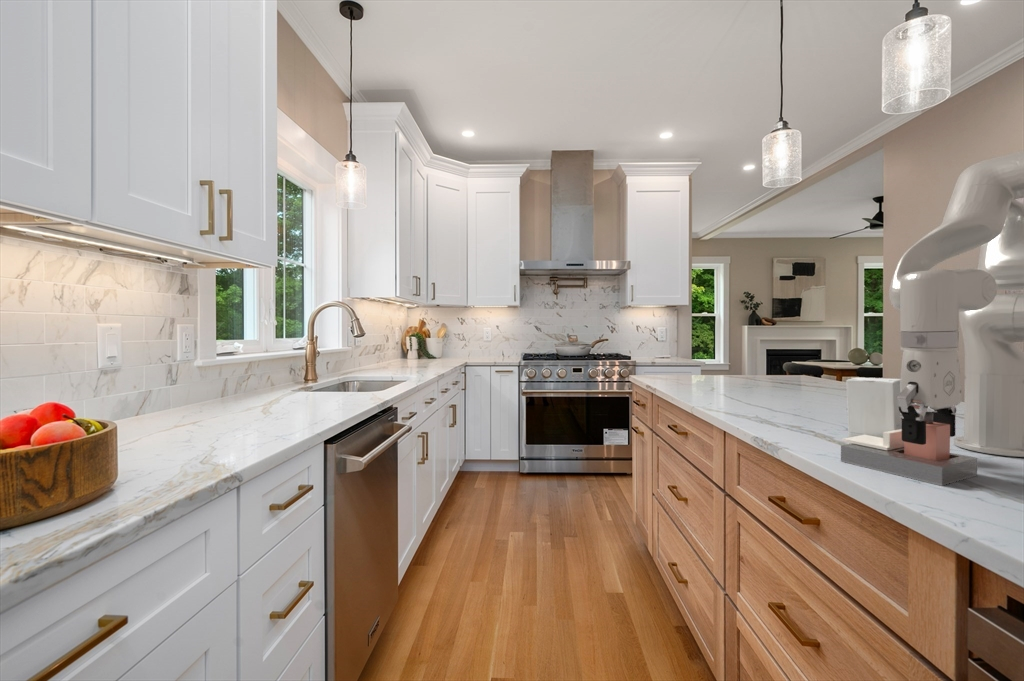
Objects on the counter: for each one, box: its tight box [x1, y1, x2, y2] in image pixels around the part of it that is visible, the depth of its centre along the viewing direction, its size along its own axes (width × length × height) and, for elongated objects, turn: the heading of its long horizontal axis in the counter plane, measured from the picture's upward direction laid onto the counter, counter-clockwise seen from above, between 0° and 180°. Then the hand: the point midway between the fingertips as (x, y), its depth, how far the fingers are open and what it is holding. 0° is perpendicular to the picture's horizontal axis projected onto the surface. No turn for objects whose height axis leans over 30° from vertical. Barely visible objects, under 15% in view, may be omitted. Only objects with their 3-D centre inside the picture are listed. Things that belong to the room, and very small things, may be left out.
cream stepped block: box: [841, 429, 904, 450], centre depth 87 cm, size 8×8×3 cm
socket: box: [840, 443, 978, 487], centre depth 82 cm, size 12×15×3 cm
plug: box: [904, 410, 951, 461], centre depth 80 cm, size 4×4×10 cm
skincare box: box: [845, 376, 902, 444], centre depth 93 cm, size 8×6×15 cm
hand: (928, 438), depth 80 cm, fingers open, 9 cm apart
